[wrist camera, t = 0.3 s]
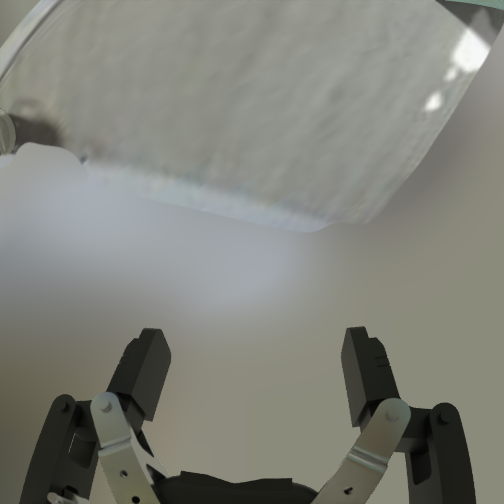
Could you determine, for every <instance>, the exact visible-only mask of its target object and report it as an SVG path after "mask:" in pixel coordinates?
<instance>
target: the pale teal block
mask: <svg viewBox="0 0 504 504" xmlns="http://www.w3.org/2000/svg"><path fill="white" fill-rule="evenodd" d="M447 1H456V2H464V3H471V4H477V5H483V6H488V7H493V8H497V9H502V10H504V0H447Z"/></svg>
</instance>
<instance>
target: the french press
mask: <svg viewBox="0 0 504 504" xmlns="http://www.w3.org/2000/svg"><path fill="white" fill-rule="evenodd" d="M15 141H16V134H15V127H14V125H13V122H12V120H11V118H10V117H9V115H8V114H7V113H6V112H5V111H3V110H2V109H0V156H6V155H8V154H10V153H11V152H12V150H13V148H14V147H15Z"/></svg>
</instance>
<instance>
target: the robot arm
mask: <svg viewBox="0 0 504 504" xmlns="http://www.w3.org/2000/svg"><path fill="white" fill-rule="evenodd" d="M341 361H342V368H343V372H344V378H345V384H346V390H347V396H348V402H349V408H350V414H351V421H352V427H358V426H360V430H361V435H360V436H359V438H358V439H357V441H356V443H355V444H354V445H353V447H352V448H351V450H350V451H349V453H348V454H347V456H346V457H345V458H344V460H343V461H342V463H341V464H340V465H339V467H338V468H337V469H336V471H335V472H334V473H333V475H332V476H331V477H330V479H329V480H328V481H327V482H326V484H325V485H324V486H323V487H322V489H321V490H320V491H319V492H316V491H315V490H313V489H312V488H310V487H307V486H305V485H302V484H298V483H293V482H292V478H282V479H281V478H280V479H259V480H255V481H248V482H242V483H230V482H227V481H224V480H221V479H218V478H215V477H212V476H209V475H205V474H199V473H192V472H186V471H181V474H180V475H179V476H173V477H170V476H169V474H168V472H167V471H166V469H165V468H164V466H163V465H162V464H161V463H160V461H159V460H158V458H157V456H156V454H155V452H154V450H153V448H152V446H151V444H150V442H149V439H148V437H147V435H146V433H145V431H144V428H143V427H142V424H143V421H144V420H147V421H153V418H154V414H155V411H156V407H157V404H158V401H159V398H160V394H161V391H162V388H163V385H164V381H165V378H166V375H167V372H168V369H169V365H170V363H171V352H170V349H169V347H168V344H167V342H166V339H165V337H164V334H163V332H162V330H161V329H153V328H144V329H143V330H142V332H141V334H140V336H139V339H137V338H134V339H133V340H132V341H131V342H130V343H129V344H128V345H127V347H126V349H125V351H124V353H123V357H121V360H120V362H119V364H118V366H117V368H116V371H115V373H114V375H113V377H112V379H111V382H110V384H109V386H108V388H107V390H106V392H102V393H100V394H98V395H96V396H95V397H94V399H93V400H89V401H75V399H74V398H73V397H72V396H70V395H67V394H63V395H60V396H58V397H57V398H56V399H55V400H54V401H53V403H52V406H51V408H50V410H49V413H48V415H47V418H46V420H45V423H44V425H43V428H42V431H41V433H40V436H39V439H38V441H37V444H36V447H35V450H34V453H33V456H32V459H31V462H30V466H29V469H28V472H27V476H26V479H25V483H24V486H23V490H22V494H21V498H20V503H19V504H90V502H89V496H90V491H91V487H92V482H93V478H94V474H95V470H96V466H97V462H98V458H99V459H100V462H101V465H102V468H103V470H104V473H105V476H106V479H107V481H108V484H109V486H110V489H111V491H112V493H113V496H114V498H115V500H116V502H117V504H365V503H366V502H367V500H368V499H369V497H370V495H371V494H372V493H373V491H374V490H375V488H376V487H377V485H378V483H379V482H380V480H381V479H382V477H383V475H384V473H385V471H386V470H387V467H388V466H387V464H388V461H389V460H390V458H391V456H392V454H393V452H404V453H405V459H406V467H407V476H408V489H409V504H476V496H475V488H474V481H473V474H472V468H471V463H470V457H469V452H468V448H467V443H466V439H465V435H464V430H463V427H462V422H461V419H460V415H459V412H458V410H457V409H456V407H455V406H453V405H452V404H450V403H440V404H438V405H436V406H435V407H434V408H433V409H421V408H413V407H410V406H408V405H407V403H406V402H404V401H403V400H402V399H401V398H400V396H399V393H398V390H397V386H396V383H395V379H394V376H393V373H392V370H391V366H390V363H389V360H388V358H387V354H386V351H385V348H384V346H383V344H382V343H381V342H380V341H379V340H378V339H377V338H376V337H375V338H369V337H368V334H367V331H366V328H365V327H364V326H363V327H351V328H347V329H346V334H345V338H344V343H343V347H342V352H341ZM74 434H75V436H74ZM73 436H74V439H73ZM72 439H73V442H72ZM71 442H72V445H71ZM70 445H71V448H70ZM69 449H70V452H69Z"/></svg>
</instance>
